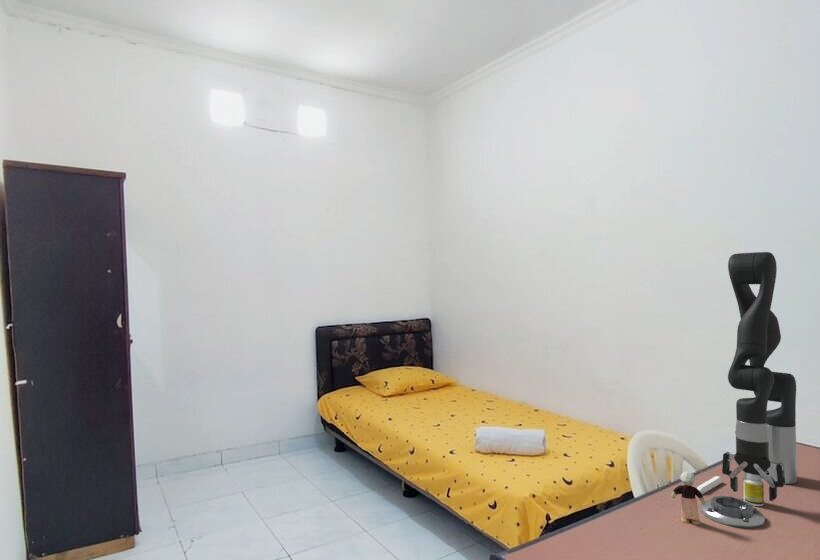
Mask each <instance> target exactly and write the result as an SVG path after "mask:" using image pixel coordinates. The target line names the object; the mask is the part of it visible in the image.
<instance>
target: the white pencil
mask: <svg viewBox="0 0 820 560" xmlns="http://www.w3.org/2000/svg"><path fill="white" fill-rule="evenodd" d="M723 482H724V480H723V479H722V476H718V475H715V476H713V477H712V478H710V479H708V480H706V481H704V482H703V483H701V484H699V485H698V486H697V487H696V488H697V489H698V490H699V491H700V492H701V494H702V495H704V494H706V493H708V492H709V491H711V490H713V489H714V488H716V487H718V486H719V485H721V484H722V483H723Z"/></svg>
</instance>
